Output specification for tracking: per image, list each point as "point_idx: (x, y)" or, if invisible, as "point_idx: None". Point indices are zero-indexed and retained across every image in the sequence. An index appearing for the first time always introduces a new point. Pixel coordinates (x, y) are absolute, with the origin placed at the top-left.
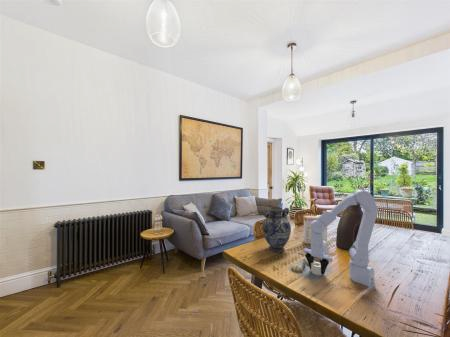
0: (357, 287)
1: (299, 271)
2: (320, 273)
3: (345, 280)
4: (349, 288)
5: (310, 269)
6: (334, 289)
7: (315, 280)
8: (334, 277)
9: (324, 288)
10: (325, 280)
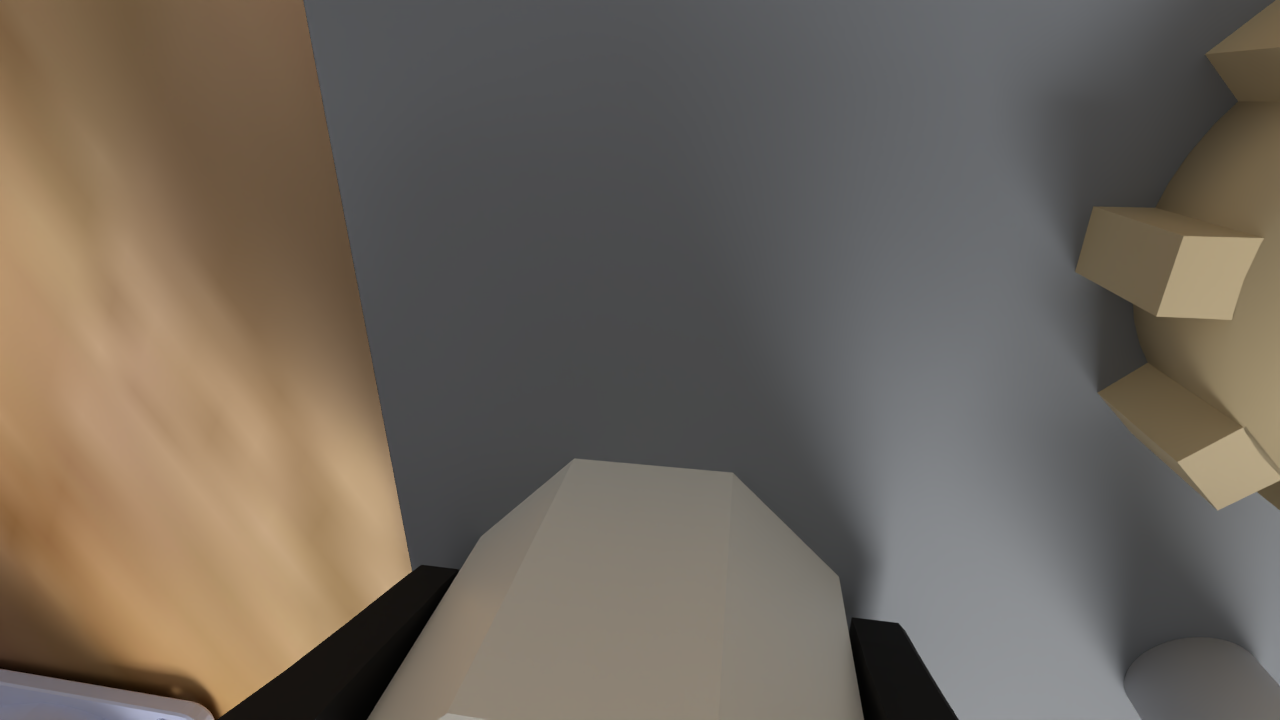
0: (10, 630)
1: (1211, 139)
2: (468, 562)
3: None
4: (4, 511)
5: None
6: (20, 231)
7: (318, 41)
8: None
9: (109, 38)
10: None
